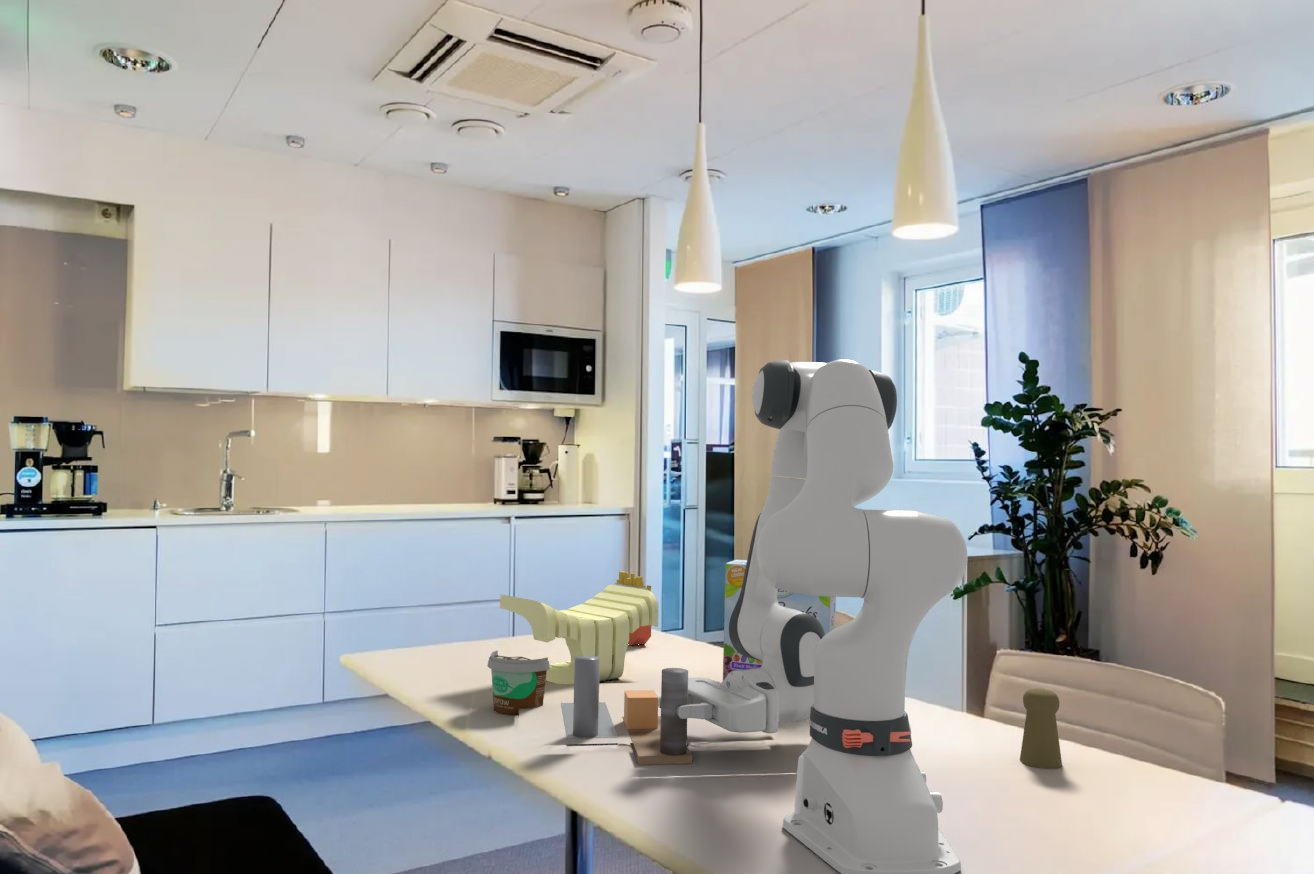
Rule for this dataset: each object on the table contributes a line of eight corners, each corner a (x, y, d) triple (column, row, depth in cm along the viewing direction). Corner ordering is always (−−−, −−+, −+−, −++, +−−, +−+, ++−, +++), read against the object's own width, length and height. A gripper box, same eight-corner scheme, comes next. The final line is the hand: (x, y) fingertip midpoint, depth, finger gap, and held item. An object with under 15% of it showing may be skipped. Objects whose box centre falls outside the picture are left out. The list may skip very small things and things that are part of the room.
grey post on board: (691, 763, 134) (693, 673, 134) (638, 764, 132) (640, 673, 133) (668, 722, 155) (669, 645, 156) (622, 723, 154) (623, 645, 155)
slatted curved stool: (545, 696, 173) (548, 603, 173) (497, 681, 184) (500, 594, 185) (656, 675, 194) (658, 591, 195) (607, 662, 205) (609, 584, 206)
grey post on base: (617, 744, 142) (619, 660, 142) (566, 745, 141) (569, 660, 141) (605, 708, 164) (606, 635, 164) (560, 709, 162) (562, 635, 163)
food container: (471, 712, 160) (473, 655, 161) (493, 704, 166) (494, 649, 166) (528, 722, 155) (529, 663, 155) (548, 714, 160) (550, 657, 160)
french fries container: (628, 639, 236) (629, 570, 236) (652, 646, 227) (653, 574, 227) (613, 640, 233) (615, 570, 234) (637, 647, 224) (638, 574, 225)
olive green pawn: (1066, 770, 135) (1066, 695, 135) (1023, 766, 136) (1024, 693, 137) (1057, 758, 141) (1057, 686, 141) (1016, 754, 142) (1016, 684, 143)
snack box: (720, 691, 180) (722, 562, 181) (731, 682, 188) (733, 558, 190) (829, 702, 173) (831, 567, 174) (835, 692, 181) (837, 564, 183)
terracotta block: (657, 728, 147) (658, 697, 148) (627, 728, 147) (628, 697, 147) (653, 720, 152) (653, 690, 153) (623, 720, 152) (624, 690, 152)
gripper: (711, 665, 151) (637, 672, 144) (784, 692, 133) (704, 701, 126) (710, 703, 151) (636, 712, 144) (783, 735, 133) (703, 747, 126)
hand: (669, 707), depth 135 cm, fingers closed on grey post on board, 4 cm apart
